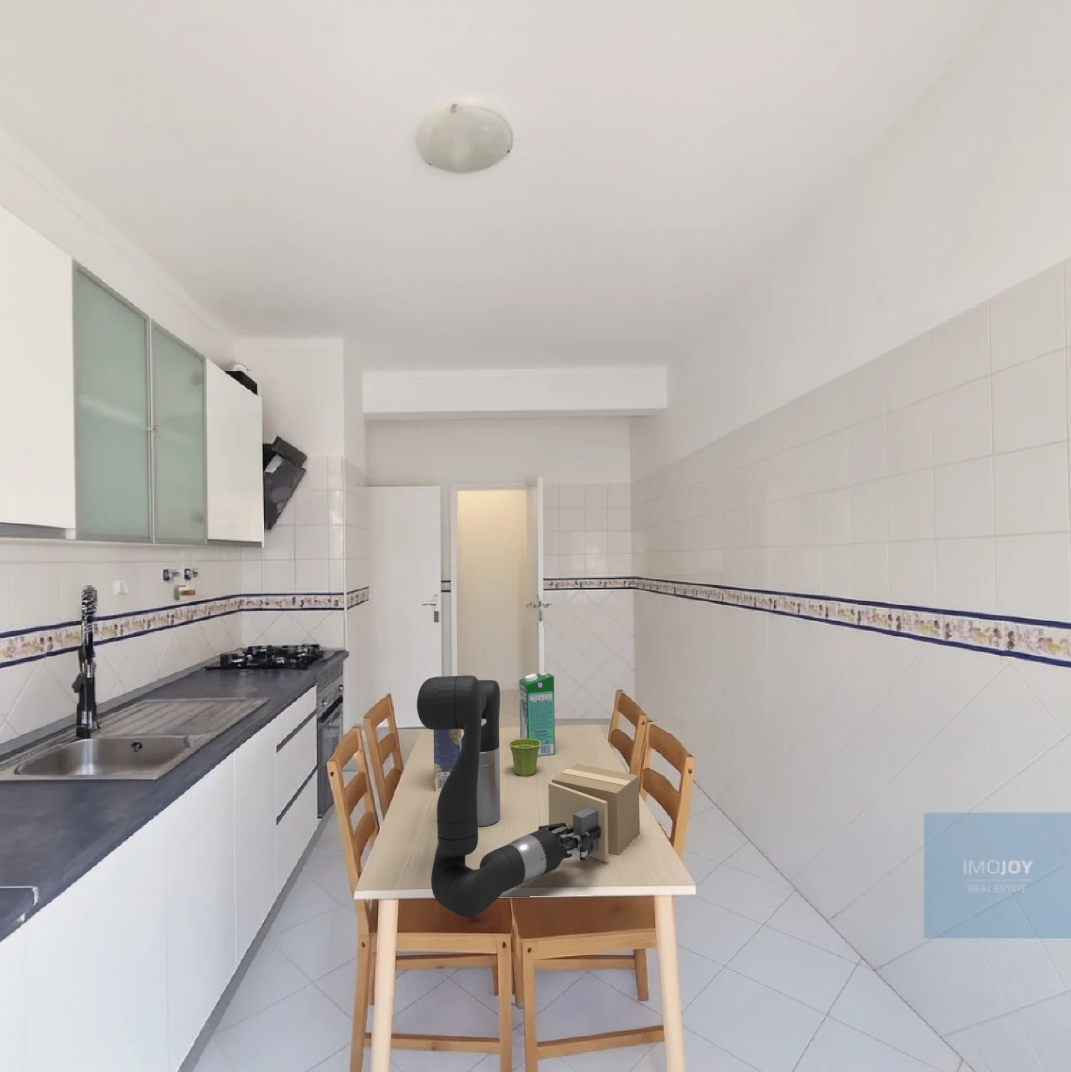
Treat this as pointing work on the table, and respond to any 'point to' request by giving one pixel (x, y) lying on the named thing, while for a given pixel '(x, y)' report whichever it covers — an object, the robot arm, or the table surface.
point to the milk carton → (538, 711)
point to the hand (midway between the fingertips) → (593, 828)
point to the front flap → (580, 815)
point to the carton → (609, 800)
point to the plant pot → (525, 755)
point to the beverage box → (445, 754)
